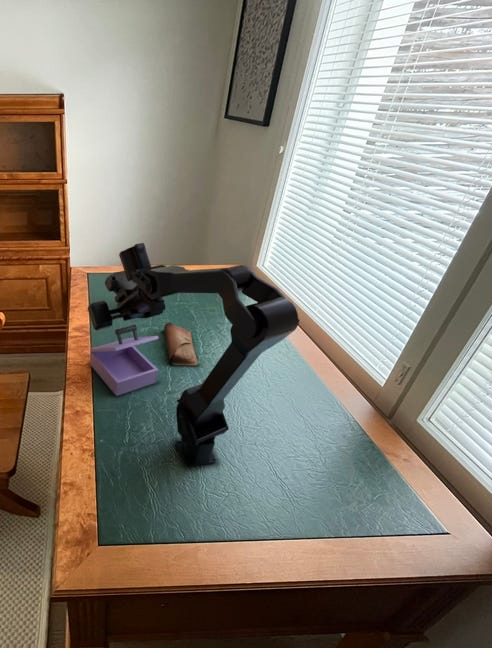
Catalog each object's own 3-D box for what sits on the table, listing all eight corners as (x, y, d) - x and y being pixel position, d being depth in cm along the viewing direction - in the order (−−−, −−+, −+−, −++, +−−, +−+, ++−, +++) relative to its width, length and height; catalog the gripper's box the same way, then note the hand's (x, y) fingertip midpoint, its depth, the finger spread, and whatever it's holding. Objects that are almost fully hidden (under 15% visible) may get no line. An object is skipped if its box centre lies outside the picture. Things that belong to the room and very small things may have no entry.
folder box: (156, 382, 100) (158, 369, 97) (116, 396, 95) (117, 382, 92) (127, 353, 110) (128, 340, 107) (89, 364, 105) (90, 351, 103)
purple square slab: (158, 338, 93) (154, 320, 93) (115, 350, 89) (111, 331, 88) (129, 341, 107) (125, 325, 107) (90, 351, 103) (86, 334, 102)
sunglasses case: (200, 364, 105) (191, 347, 102) (176, 374, 108) (167, 357, 104) (190, 330, 120) (182, 314, 117) (169, 339, 122) (161, 323, 119)
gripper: (163, 258, 89) (134, 284, 103) (91, 272, 82) (71, 297, 96) (179, 303, 88) (147, 322, 102) (107, 320, 81) (84, 338, 95)
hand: (113, 319), depth 99 cm, fingers open, 9 cm apart
